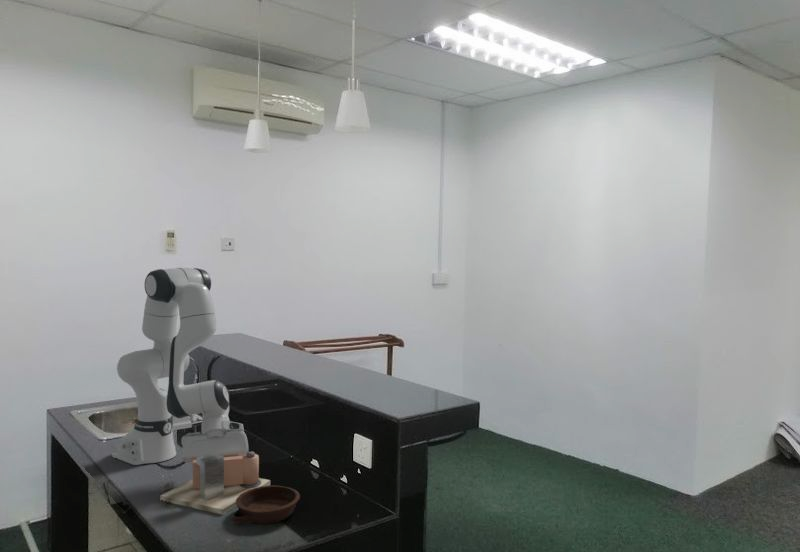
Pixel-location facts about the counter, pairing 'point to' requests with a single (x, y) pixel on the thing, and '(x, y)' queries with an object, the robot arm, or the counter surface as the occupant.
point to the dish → (265, 504)
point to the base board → (216, 505)
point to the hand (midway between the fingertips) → (215, 471)
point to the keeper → (211, 476)
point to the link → (234, 470)
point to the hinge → (181, 423)
